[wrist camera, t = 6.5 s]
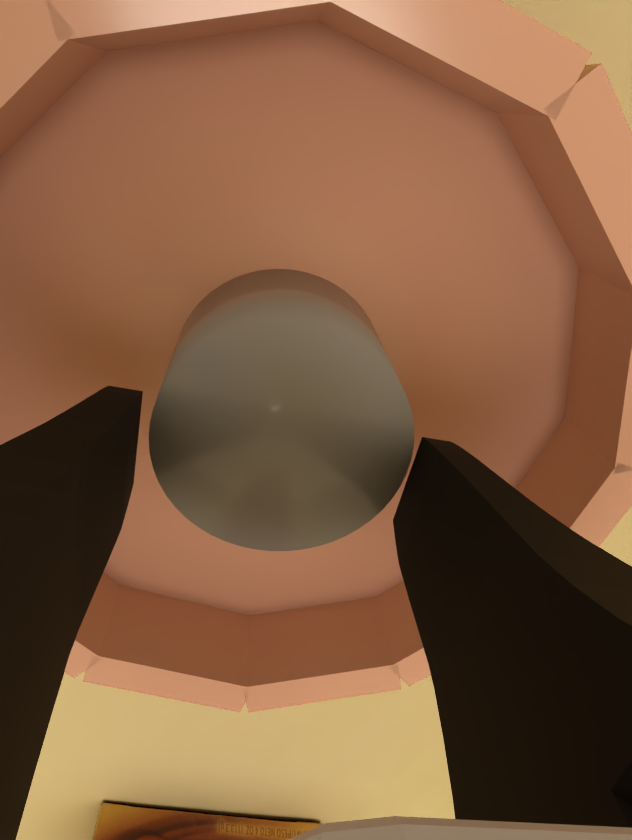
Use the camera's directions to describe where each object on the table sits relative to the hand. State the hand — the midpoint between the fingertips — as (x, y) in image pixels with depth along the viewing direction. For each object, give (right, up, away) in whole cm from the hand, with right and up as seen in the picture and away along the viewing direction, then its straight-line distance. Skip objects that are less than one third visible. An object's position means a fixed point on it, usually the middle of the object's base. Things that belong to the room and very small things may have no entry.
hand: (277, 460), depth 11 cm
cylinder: (0, +2, +3) cm, 3 cm away
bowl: (0, +2, +3) cm, 4 cm away
